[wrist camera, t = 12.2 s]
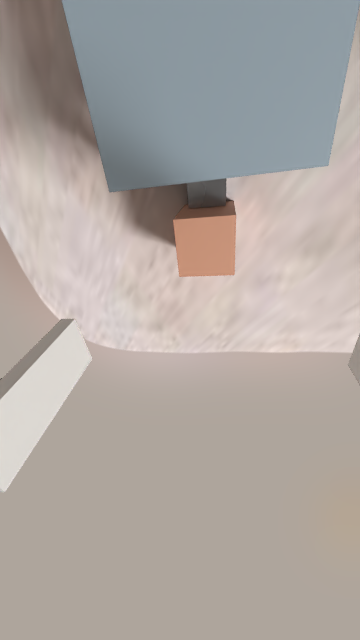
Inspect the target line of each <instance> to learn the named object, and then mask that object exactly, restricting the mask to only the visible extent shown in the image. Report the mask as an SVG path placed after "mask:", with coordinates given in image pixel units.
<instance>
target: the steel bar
mask: <svg viewBox="0 0 360 640" xmlns="http://www.w3.org/2000/svg"><path fill="white" fill-rule="evenodd" d="M187 192H188V207H189V208H200V207H213V206H226V178H224V179H215V180H207V181H199V182H191V183H187Z"/></svg>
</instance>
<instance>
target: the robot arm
mask: <svg viewBox="0 0 360 640" xmlns="http://www.w3.org/2000/svg"><path fill="white" fill-rule="evenodd" d="M91 360H92V357H91V355H90V353H89V350H88V348H87V346H86V344H85V341H84V339H83V336H82V334H81V332H80V329H79V327H78V325H77V322H76V320H75V319H61V320H60V321H59V322H58V323H57V324H56V325H55V326H54V327H53V328H52V329H51V330H50V331H49V332H48V333H47V334H46V335H45V336H44V337H43V338H42V339H41V340H40V341H39V342H38V343H37V344H36V345H35V346H34V347H33V348H32V349H31V350H30V351H29V352H28V353H27V354H26V355H25V356H24V357H23V358H22V359H21V360H20V361H19V362H18V363H17V364H16V365H15V366H14V367H13V368H12V369H11V370H10V371H9V372H8V373H7V374H6V375H5V376H4V377H3V378H1V379H0V491H1V492H5V491H6V489H7V488H8V486H9V485H10V483H11V482H12V480H13V478H14V477H15V476H16V474H17V473H18V471H19V470H20V468H21V467H22V465H23V464H24V462H25V460H26V459H27V457H28V456H29V454H30V452H31V451H32V450H33V448H34V447H35V445H36V444H37V442H38V440H39V439H40V438H41V436H42V435H43V433H44V432H45V430H46V428H47V427H48V425H49V424H50V422H51V420H52V419H53V418H54V416H55V415H56V413H57V411H58V410H59V408H60V407H61V406H62V404H63V402H64V401H65V399H66V398H67V396H68V395H69V393H70V392H71V390H72V389H73V387H74V386H75V384H76V383H77V381H78V380H79V378H80V377H81V375H82V374H83V372H84V370H85V369H86V367H87V365H88V364H89V363H90V361H91ZM348 366H349V368H350V369H351V371H352V373H353V375H354V376H355V378H356V380H357V381H358V383H359V385H360V335H359V337H358V340H357V342H356V345H355V348H354V350H353V353H352V356H351V358H350V361H349V364H348Z"/></svg>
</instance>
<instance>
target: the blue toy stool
mask: <svg viewBox="0 0 360 640" xmlns="http://www.w3.org/2000/svg"><path fill="white" fill-rule="evenodd" d="M62 4H63V8H64V12H65V16H66V20H67V24H68V28H69V32H70V36H71V40H72V44H73V48H74V52H75V56H76V60H77V64H78V68H79V72H80V76H81V80H82V84H83V88H84V92H85V96H86V100H87V104H88V108H89V112H90V116H91V120H92V124H93V128H94V132H95V136H96V140H97V144H98V148H99V152H100V156H101V160H102V164H103V168H104V172H105V176H106V180H107V184H108V188H109V192H116V191H125V190H133V189H141V188H149V187H158V186H166V185H174V184H182V183H191V182H199V181H207V180H215V179H224V178H232V177H240V176H248V175H257V174H265V173H273V172H281V171H290V170H298V169H306V168H314V167H323V166H328V165H329V159H330V154H331V149H332V144H333V139H334V134H335V128H336V123H337V118H338V113H339V108H340V103H341V98H342V92H343V87H344V82H345V77H346V72H347V67H348V62H349V56H350V51H351V46H352V41H353V36H354V31H355V25H356V20H357V15H358V10H359V5H360V0H62Z"/></svg>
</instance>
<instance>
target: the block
mask: <svg viewBox="0 0 360 640" xmlns="http://www.w3.org/2000/svg"><path fill="white" fill-rule="evenodd" d="M173 224H174V233H175V242H176V251H177V260H178V269H179V277H187V276H218V275H234V273H235V235H236V212H235V206H234V201H226V206H213V207H200V208H189V207H188V205H185V206H184V207H183V208H182V209H181V211H180V212H179V213H178V214H177V215H176V217H175V218H174V219H173Z"/></svg>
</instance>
